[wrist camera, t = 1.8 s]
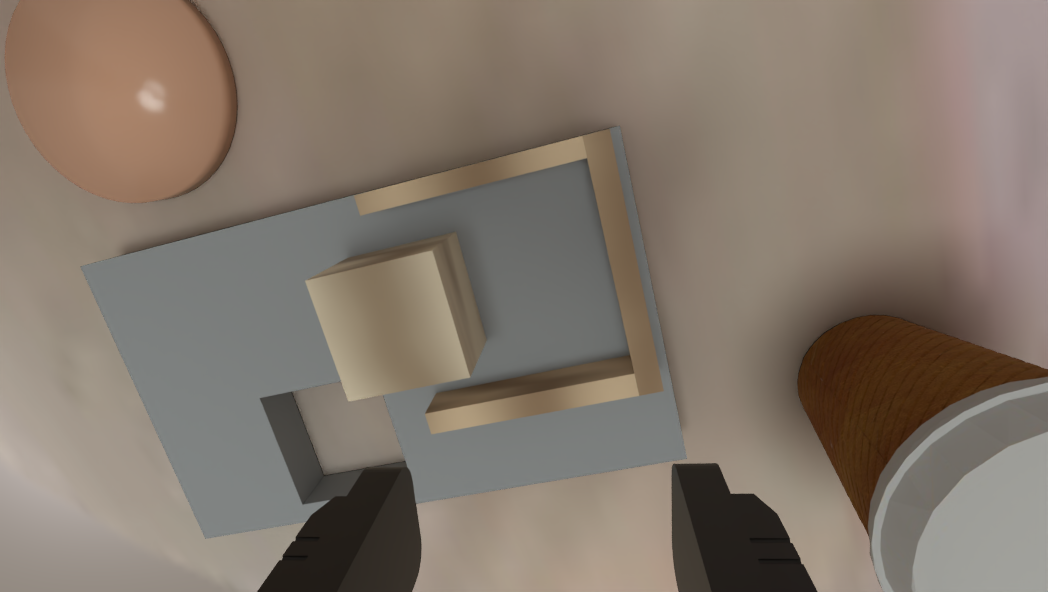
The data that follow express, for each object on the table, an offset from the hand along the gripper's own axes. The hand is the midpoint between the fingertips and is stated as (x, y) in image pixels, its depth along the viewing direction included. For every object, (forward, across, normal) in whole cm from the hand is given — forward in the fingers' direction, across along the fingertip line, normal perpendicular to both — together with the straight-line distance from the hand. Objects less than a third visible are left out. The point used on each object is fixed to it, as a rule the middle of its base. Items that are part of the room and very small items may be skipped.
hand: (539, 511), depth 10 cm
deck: (+17, +8, +3) cm, 19 cm away
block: (+15, +6, 0) cm, 16 cm away
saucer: (+17, +19, -10) cm, 28 cm away
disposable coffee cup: (+18, -14, +6) cm, 23 cm away
